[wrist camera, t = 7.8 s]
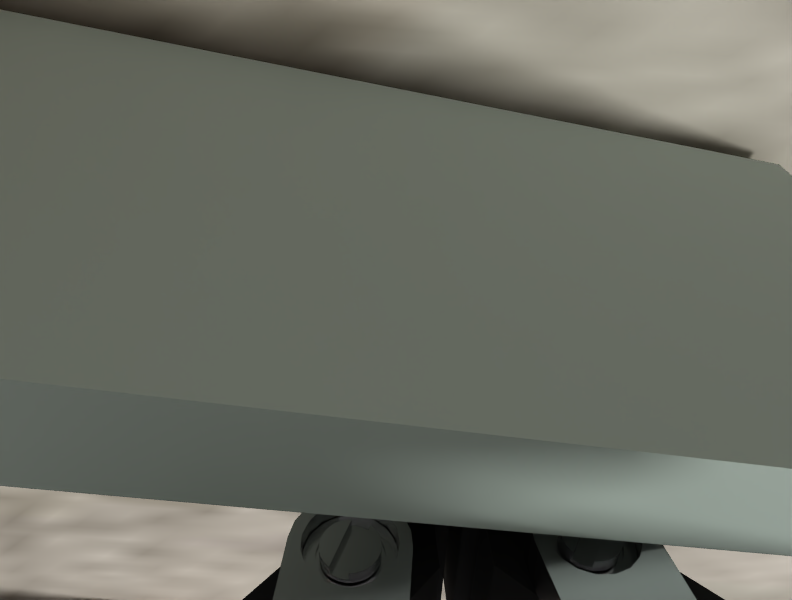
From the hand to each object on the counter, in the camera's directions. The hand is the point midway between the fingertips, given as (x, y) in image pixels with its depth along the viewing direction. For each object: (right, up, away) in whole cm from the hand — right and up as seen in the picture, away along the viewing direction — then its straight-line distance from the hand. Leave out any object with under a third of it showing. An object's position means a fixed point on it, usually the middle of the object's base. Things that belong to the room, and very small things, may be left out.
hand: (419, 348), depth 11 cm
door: (-1, +3, +1) cm, 4 cm away
